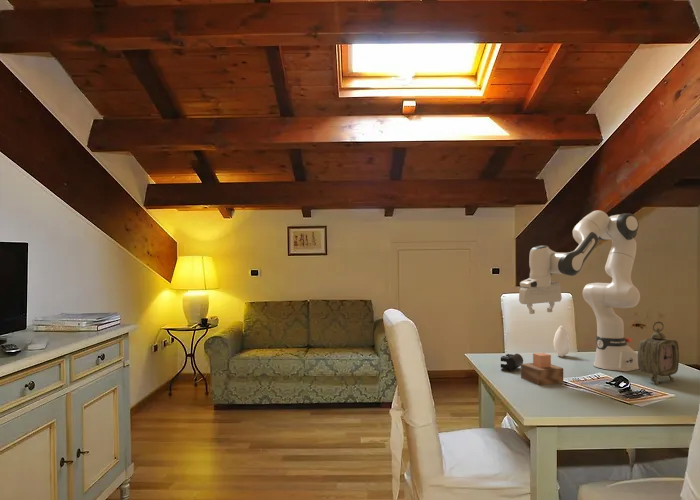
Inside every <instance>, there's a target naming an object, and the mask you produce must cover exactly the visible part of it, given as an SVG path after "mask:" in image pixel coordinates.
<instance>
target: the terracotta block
mask: <svg viewBox="0 0 700 500" xmlns="http://www.w3.org/2000/svg"><path fill="white" fill-rule="evenodd" d="M551 359H552V355H551V354H549V353H545V352H535V353H532V363H533V365H534V366H537V367H540V368H545V367H551V364H552V360H551Z"/></svg>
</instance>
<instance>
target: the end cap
mask: <svg viewBox="0 0 700 500" xmlns="http://www.w3.org/2000/svg"><path fill="white" fill-rule="evenodd" d="M500 362H504V363H506V364H504V363H500V371H501V372H502V371H503V372H509V373H510V372H513V371H514V370H516V369H518V368H521V364H524V357H523V356H522V355H521V354H519V353H515V354H512V353H511V354H510V353H507V354H505V355H503V356H501V357H500Z"/></svg>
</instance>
